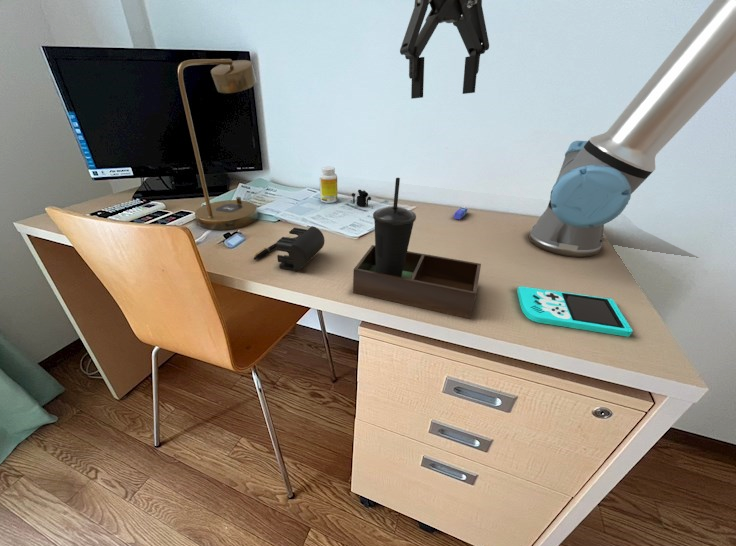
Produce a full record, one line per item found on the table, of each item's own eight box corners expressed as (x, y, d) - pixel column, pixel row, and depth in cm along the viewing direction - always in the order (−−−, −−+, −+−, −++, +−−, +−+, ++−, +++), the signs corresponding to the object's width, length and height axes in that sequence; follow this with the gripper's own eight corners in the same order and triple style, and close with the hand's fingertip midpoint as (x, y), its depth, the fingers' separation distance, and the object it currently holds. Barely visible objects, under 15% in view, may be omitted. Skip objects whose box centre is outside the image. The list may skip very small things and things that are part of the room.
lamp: (285, 202, 111) (272, 58, 89) (233, 234, 91) (200, 57, 69) (241, 196, 117) (219, 59, 95) (183, 224, 96) (138, 58, 75)
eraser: (467, 214, 101) (468, 207, 100) (460, 220, 97) (461, 213, 96) (460, 212, 102) (461, 206, 101) (453, 218, 98) (454, 212, 97)
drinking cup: (407, 292, 65) (421, 185, 54) (367, 288, 67) (372, 183, 55) (408, 272, 71) (421, 173, 60) (371, 269, 73) (377, 171, 61)
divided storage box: (370, 266, 76) (372, 244, 73) (475, 287, 69) (481, 263, 66) (352, 292, 67) (353, 269, 64) (469, 318, 60) (476, 293, 57)
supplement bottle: (339, 202, 111) (339, 169, 105) (323, 204, 109) (322, 171, 103) (334, 197, 115) (333, 165, 109) (318, 199, 113) (317, 166, 108)
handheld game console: (516, 290, 67) (518, 284, 67) (610, 303, 64) (613, 297, 63) (523, 320, 60) (526, 314, 59) (631, 337, 56) (635, 331, 55)
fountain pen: (289, 238, 88) (288, 232, 88) (292, 238, 88) (292, 233, 87) (251, 261, 78) (250, 255, 77) (255, 262, 78) (254, 256, 77)
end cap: (306, 275, 73) (305, 245, 69) (277, 269, 75) (274, 240, 71) (325, 254, 81) (324, 227, 77) (298, 249, 83) (296, 223, 79)
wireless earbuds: (350, 204, 109) (350, 188, 106) (355, 202, 110) (355, 186, 107) (369, 209, 105) (370, 192, 102) (373, 206, 107) (374, 190, 104)
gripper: (486, -33, 68) (474, 92, 78) (379, -42, 59) (382, 101, 69) (520, -49, 62) (502, 89, 72) (407, -62, 53) (405, 98, 63)
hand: (443, 95), depth 70 cm, fingers open, 13 cm apart
